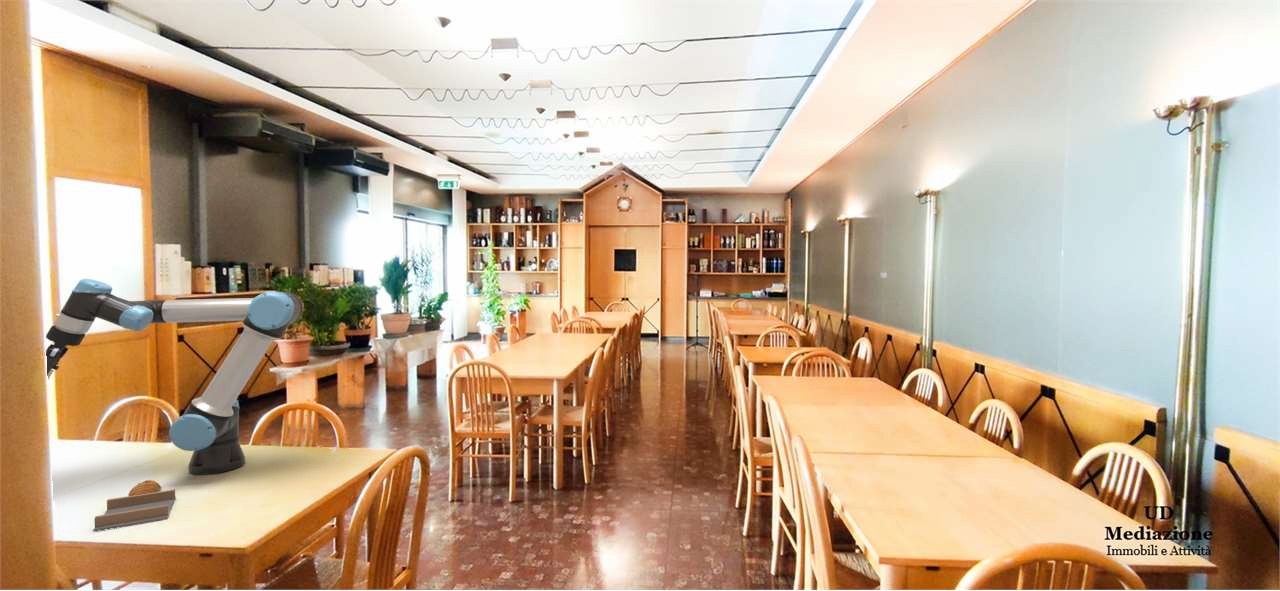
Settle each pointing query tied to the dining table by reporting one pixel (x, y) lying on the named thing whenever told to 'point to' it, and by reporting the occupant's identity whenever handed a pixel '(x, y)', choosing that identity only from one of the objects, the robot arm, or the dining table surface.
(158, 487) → the pastry
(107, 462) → the dining table surface
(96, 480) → the dining table surface
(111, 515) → the pastry holder
